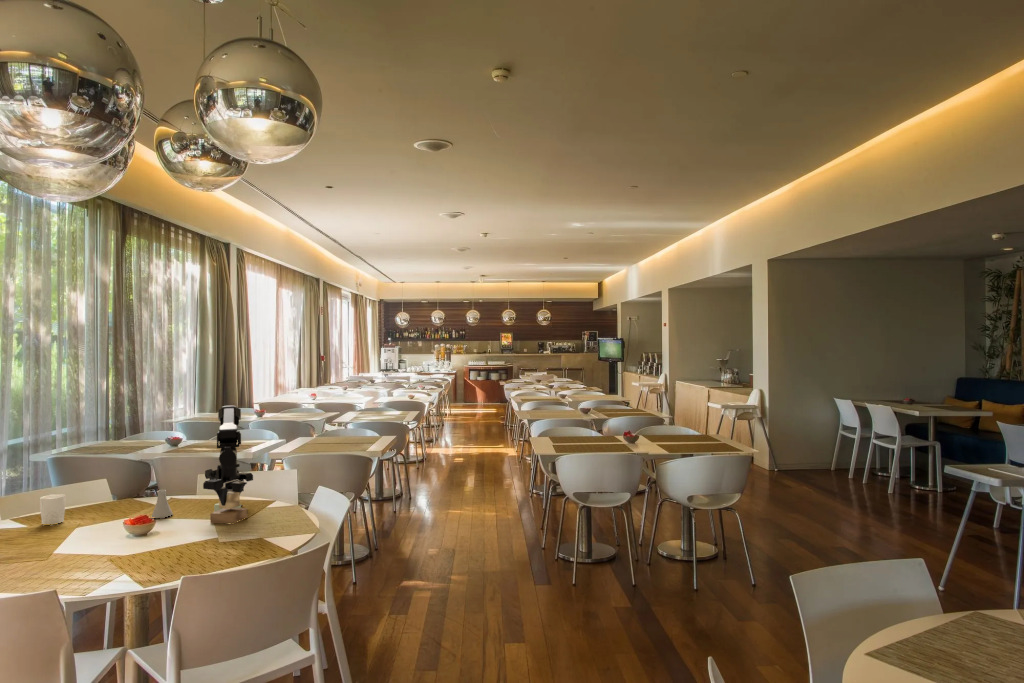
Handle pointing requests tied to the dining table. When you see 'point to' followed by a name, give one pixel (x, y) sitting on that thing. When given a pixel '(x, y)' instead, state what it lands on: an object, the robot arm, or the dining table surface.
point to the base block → (228, 515)
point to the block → (216, 508)
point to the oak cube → (231, 500)
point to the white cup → (52, 508)
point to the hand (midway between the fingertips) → (229, 504)
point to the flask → (162, 506)
